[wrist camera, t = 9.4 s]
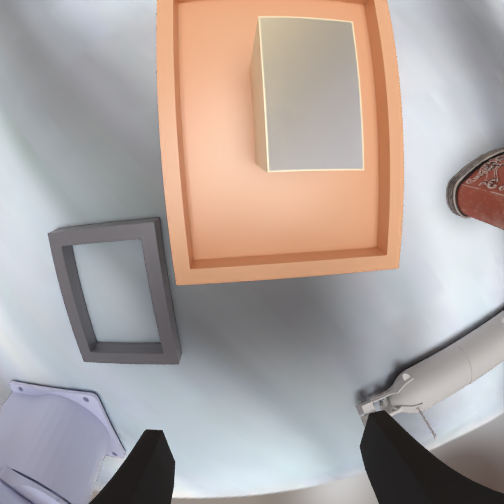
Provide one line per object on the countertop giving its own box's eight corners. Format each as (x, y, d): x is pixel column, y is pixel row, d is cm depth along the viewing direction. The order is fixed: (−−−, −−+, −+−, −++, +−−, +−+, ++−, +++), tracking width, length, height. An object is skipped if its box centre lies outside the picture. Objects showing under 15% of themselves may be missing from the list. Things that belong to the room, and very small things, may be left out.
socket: (90, 351, 19) (83, 361, 18) (57, 228, 16) (47, 233, 15) (181, 352, 19) (178, 364, 18) (159, 217, 17) (154, 222, 15)
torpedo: (525, 276, 19) (575, 308, 13) (523, 319, 21) (566, 353, 15) (346, 381, 21) (375, 448, 15) (359, 417, 22) (383, 478, 16)
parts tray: (182, 271, 17) (176, 285, 16) (165, -1, 13) (157, -17, 11) (383, 256, 18) (398, 268, 16) (370, -1, 13) (384, -13, 11)
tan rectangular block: (255, 164, 15) (267, 172, 9) (249, 67, 14) (258, 16, 8) (315, 162, 15) (364, 170, 9) (309, 67, 14) (352, 21, 8)
